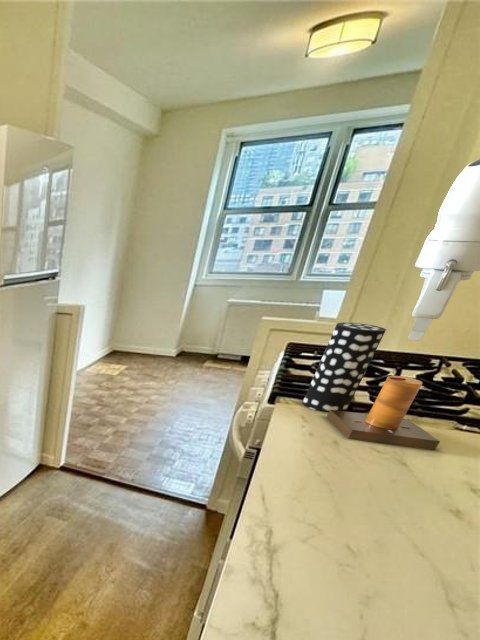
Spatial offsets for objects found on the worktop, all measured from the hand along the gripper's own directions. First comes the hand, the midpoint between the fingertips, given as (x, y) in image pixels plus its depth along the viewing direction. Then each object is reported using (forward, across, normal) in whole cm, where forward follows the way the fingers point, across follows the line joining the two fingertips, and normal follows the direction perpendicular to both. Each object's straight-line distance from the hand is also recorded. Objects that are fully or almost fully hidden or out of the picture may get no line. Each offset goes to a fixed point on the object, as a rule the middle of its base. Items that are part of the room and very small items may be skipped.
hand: (415, 335), depth 92 cm
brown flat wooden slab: (+22, +6, -1) cm, 23 cm away
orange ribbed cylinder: (+20, +6, -1) cm, 21 cm away
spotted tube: (+22, +16, +9) cm, 29 cm away
